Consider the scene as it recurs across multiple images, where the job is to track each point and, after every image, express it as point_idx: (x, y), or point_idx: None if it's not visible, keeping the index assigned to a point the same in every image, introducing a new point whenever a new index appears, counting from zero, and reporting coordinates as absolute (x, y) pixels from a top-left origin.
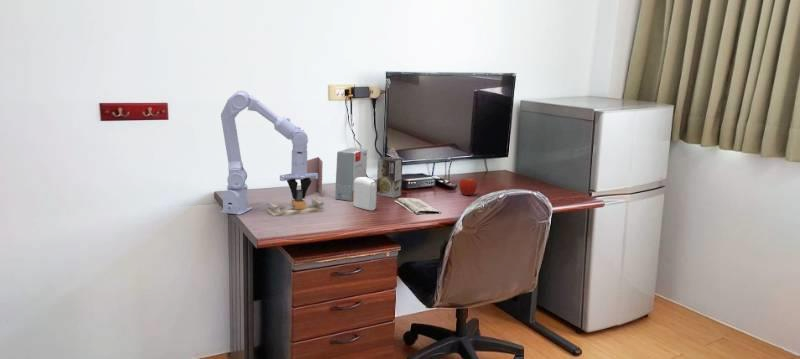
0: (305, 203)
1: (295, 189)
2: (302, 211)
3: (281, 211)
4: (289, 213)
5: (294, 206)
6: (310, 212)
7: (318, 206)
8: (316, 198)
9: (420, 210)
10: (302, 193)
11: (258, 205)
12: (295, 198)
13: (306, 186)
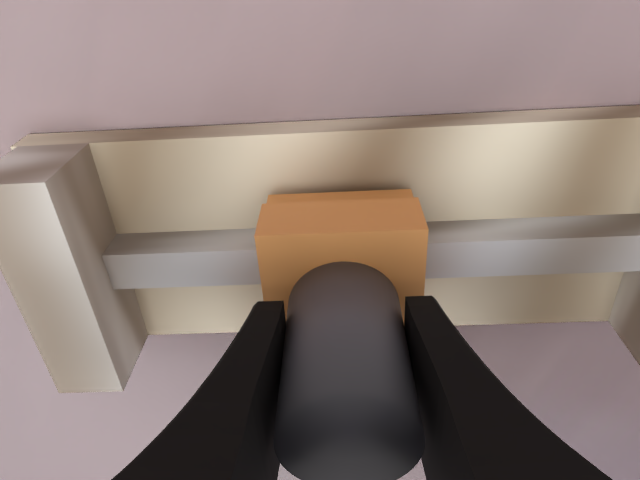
0: (265, 219)
1: (485, 419)
2: (331, 128)
3: (605, 178)
4: (519, 115)
5: None
6: (218, 126)
7: (78, 175)
8: (59, 388)
9: None
10: (290, 368)
11: None
12: (424, 301)
13: (189, 468)
